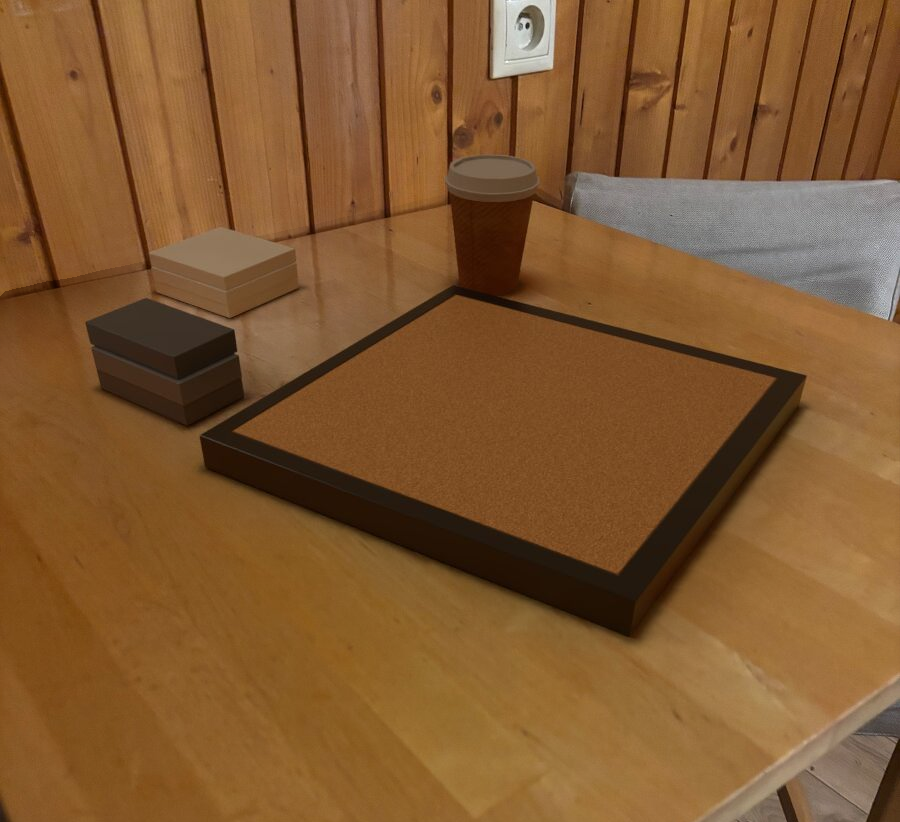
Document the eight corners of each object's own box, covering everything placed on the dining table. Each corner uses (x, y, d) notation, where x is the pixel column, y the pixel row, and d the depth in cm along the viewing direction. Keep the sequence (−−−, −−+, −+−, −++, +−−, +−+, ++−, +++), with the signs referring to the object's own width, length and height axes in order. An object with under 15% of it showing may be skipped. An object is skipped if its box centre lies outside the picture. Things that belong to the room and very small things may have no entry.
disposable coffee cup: (499, 262, 106) (504, 148, 98) (550, 290, 100) (559, 171, 92) (427, 279, 102) (426, 161, 94) (476, 309, 96) (479, 186, 88)
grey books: (97, 388, 82) (80, 322, 78) (158, 360, 86) (146, 297, 82) (187, 428, 76) (174, 360, 73) (248, 396, 81) (239, 330, 77)
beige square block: (154, 292, 98) (149, 266, 96) (226, 264, 104) (222, 239, 103) (229, 319, 93) (225, 292, 91) (300, 288, 99) (297, 262, 98)
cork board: (205, 467, 72) (629, 637, 58) (199, 434, 70) (635, 601, 56) (452, 312, 95) (798, 405, 81) (452, 284, 93) (807, 375, 79)
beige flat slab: (150, 265, 96) (148, 252, 96) (222, 239, 103) (220, 226, 102) (226, 291, 92) (224, 277, 91) (296, 261, 98) (295, 248, 97)
